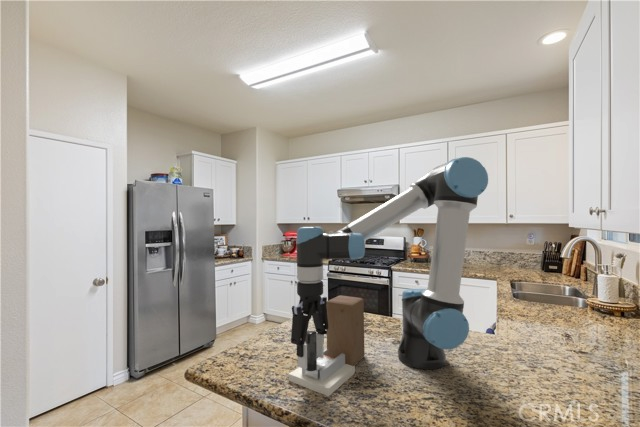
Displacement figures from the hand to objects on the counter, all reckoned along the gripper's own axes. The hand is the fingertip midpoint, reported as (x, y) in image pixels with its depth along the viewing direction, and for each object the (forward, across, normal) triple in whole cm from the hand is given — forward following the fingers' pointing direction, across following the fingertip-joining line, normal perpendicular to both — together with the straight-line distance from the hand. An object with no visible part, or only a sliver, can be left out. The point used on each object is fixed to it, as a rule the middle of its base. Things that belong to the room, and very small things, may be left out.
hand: (311, 361), depth 84 cm
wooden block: (+7, -20, 0) cm, 21 cm away
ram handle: (+4, -4, 0) cm, 6 cm away
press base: (+7, -6, 0) cm, 9 cm away
